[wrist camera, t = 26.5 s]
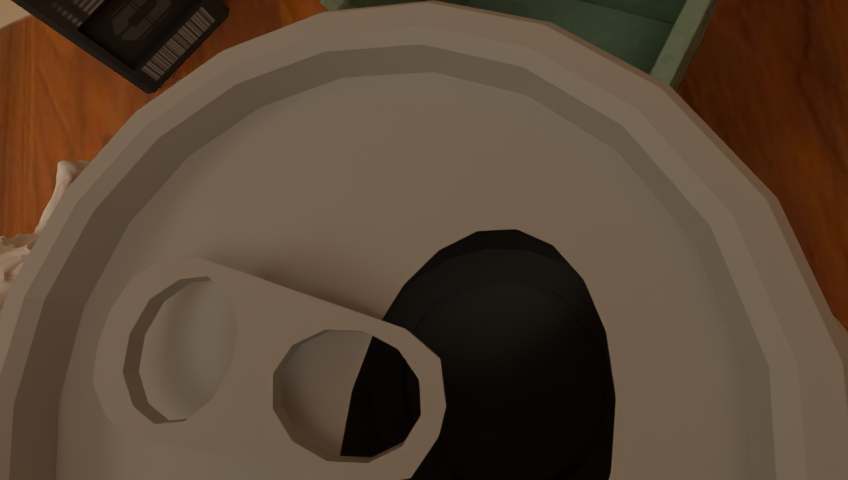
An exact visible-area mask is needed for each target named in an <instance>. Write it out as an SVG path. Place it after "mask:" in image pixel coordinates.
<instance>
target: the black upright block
mask: <svg viewBox="0 0 848 480" xmlns="http://www.w3.org/2000/svg"><path fill="white" fill-rule="evenodd" d="M12 1H13V2H15V3H16V4H17V5H19V6H20V7H22V8H23V9H25V10H26V11H28V12H29V13H30V14H32V15H33V16H35V17H36V18H38V19H39V20H41V21H42V22H44V23H45V24H47V25H48V26H49V27H51V28H52V29H54V30H55V31H57V32H58V33H60V34H61V35H63V36H64V37H65V38H67V39H68V40H70V41H71V42H73V43H74V44H76V45H77V46H79V47H80V48H82V49H83V50H84V51H86V52H87V53H89V54H90V55H92V56H93V57H95V58H96V59H98V60H99V61H101V62H102V63H103V64H105V65H106V66H108V67H109V68H111V69H112V70H114V71H115V72H117V73H118V74H119V75H121V76H122V77H124V78H125V79H127V80H128V81H130V82H131V83H133V84H134V85H136V86H137V87H138V88H140V89H141V90H143V91H144V92H146V93H153V92H155V91H156V90H157V89H158V88H159V87H160V86H161V85H162V83H163V82H164V81H165V80H166V79H167V78H168V77H169V76H170V75H171V74H172V73H173V72H174V71H175V70H176V69H177V68H178V67H179V66H180V65H181V64H182V63H183V62H184V61H185V60H186V59H187V58H188V57H189V56H190V55H191V54H192V53H193V52H194V50H195V49H196V48H197V47H198V46H199V45H200V44H201V43H202V42H203V41H204V40H205V39H206V38H207V37H208V36H209V35H210V34H211V33H212V32H213V31H214V30H215V29H216V28H217V27H218V26H219V25H220V24H221V23H222V22H223V21H224V20H225V19H226V17H227V16H228V11H229V9H228V8H227V7H226V5H225V4H224V3H223V2H222V1H221V0H12Z"/></svg>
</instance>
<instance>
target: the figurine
mask: <svg viewBox="0 0 848 480" xmlns="http://www.w3.org/2000/svg"><path fill="white" fill-rule="evenodd" d="M90 162H91V161H76V162H71V161H66V160H62V161H60V162H59V163H58V171H57V174H56V187H55V190H54V193H53V196H52V198H51V200H50V201H49V203H48V205H47V206H46V208H45V210H44V212H43V214H42V217H41V219H40V222H39V224H38V225H37V226H36V228H35V231H34V233H32V234H18V235H16V236H15V237H14V238H10V239H6V237H5V236H0V315H1V312H2V309H3V306H4V303H5V299H6V296H7V293H8V290H9V289H10V287H11V285H12V283H13V281H14V280H15V278H16V276H17V274H18V273H19V271H20V269H21V267H22V265H23V264H24V262H25V260H26V258H27V257H28V255H29V253H30V251H31V250H32V248H33V246H34V244H35V242H36V241H37V239H38V237H39V235H40V234H41V232H42V230H43V228H44V226H45V225H46V223H47V221H48V219H49V218H50V216H51V214H52V212H53V211H54V209H55V207H56V205H57V203H58V202H59V200H60V198H61V196H62V195H63V193H64V191H65V190H66V189H67V188H68V187H69V186H70V185H71V183H72V182H73V181H74V180H75V179H76V178H77V177H78V176H79V175H80V174H81V172H82V171H83V170H84V169H85V168H86V167H87V166H88V165H89V163H90Z"/></svg>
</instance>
